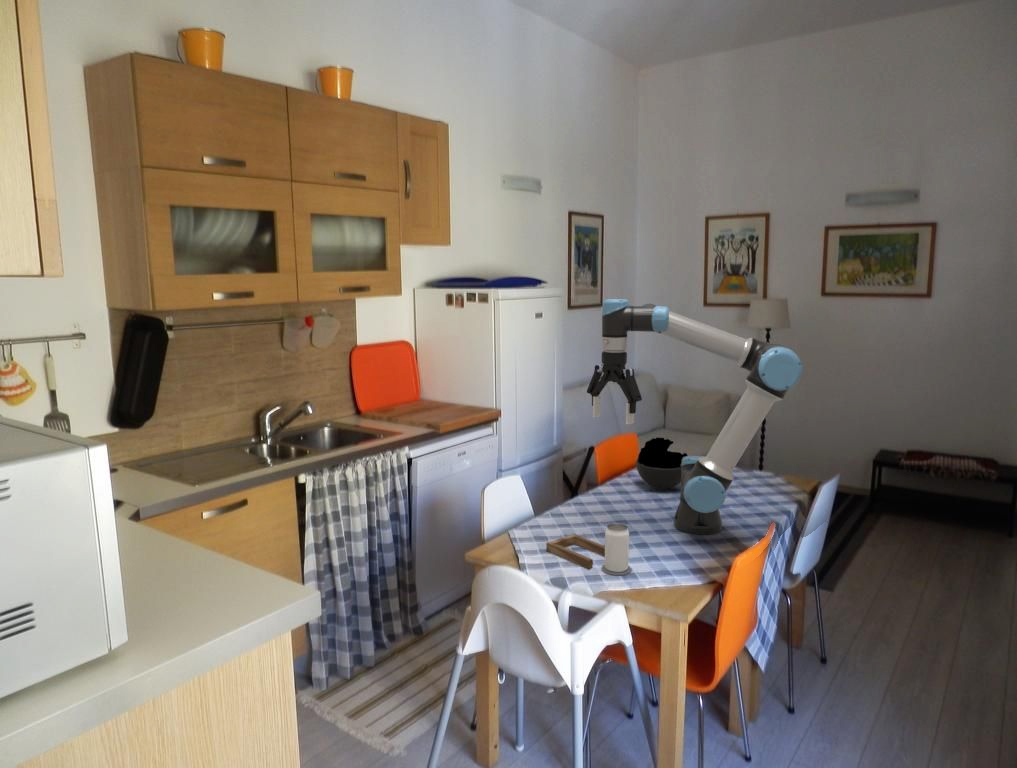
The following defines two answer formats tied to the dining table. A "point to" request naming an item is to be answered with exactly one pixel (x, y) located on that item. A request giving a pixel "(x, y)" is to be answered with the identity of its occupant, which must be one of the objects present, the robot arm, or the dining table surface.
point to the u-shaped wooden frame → (560, 550)
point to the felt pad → (616, 572)
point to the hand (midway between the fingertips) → (612, 420)
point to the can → (616, 547)
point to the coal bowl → (659, 464)
